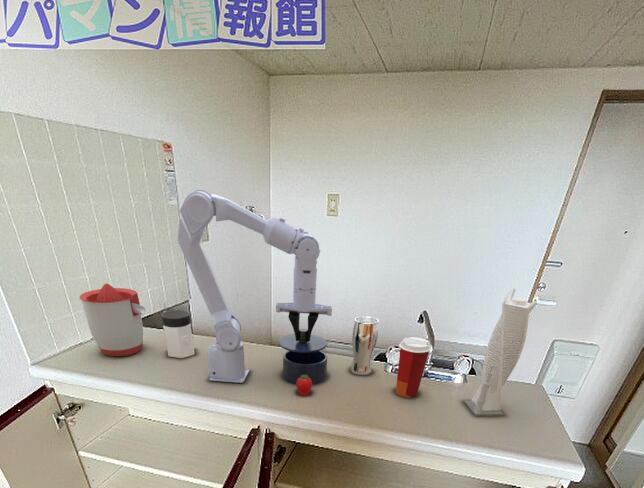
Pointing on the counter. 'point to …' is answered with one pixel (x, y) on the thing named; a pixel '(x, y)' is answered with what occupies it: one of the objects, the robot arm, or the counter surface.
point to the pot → (305, 366)
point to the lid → (302, 342)
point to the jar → (178, 334)
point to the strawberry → (304, 385)
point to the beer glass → (364, 344)
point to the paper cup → (411, 365)
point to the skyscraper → (501, 355)
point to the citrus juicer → (114, 319)
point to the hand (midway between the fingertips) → (303, 340)
